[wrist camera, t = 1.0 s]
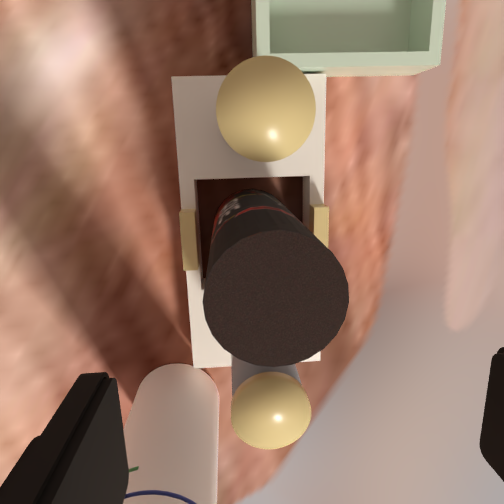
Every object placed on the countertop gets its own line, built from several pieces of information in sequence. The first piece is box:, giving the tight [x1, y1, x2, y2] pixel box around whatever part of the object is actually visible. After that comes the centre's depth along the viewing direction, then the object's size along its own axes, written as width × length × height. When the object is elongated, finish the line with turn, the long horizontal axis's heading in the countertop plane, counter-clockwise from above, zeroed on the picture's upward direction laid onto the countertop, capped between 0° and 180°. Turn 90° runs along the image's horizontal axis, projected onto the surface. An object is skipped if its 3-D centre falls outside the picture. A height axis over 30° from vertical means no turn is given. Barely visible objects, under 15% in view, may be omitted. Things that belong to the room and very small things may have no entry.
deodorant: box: [202, 189, 349, 367], centre depth 23 cm, size 6×6×15 cm
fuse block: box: [171, 55, 329, 449], centre depth 24 cm, size 21×10×12 cm, turn 1°
